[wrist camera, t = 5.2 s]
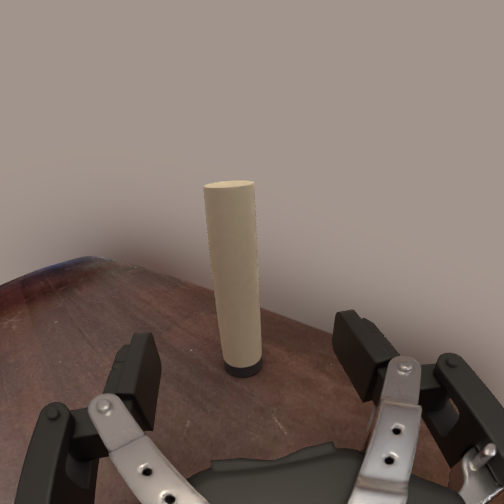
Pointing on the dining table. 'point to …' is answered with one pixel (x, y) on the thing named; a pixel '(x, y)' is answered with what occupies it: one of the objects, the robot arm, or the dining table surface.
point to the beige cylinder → (235, 273)
